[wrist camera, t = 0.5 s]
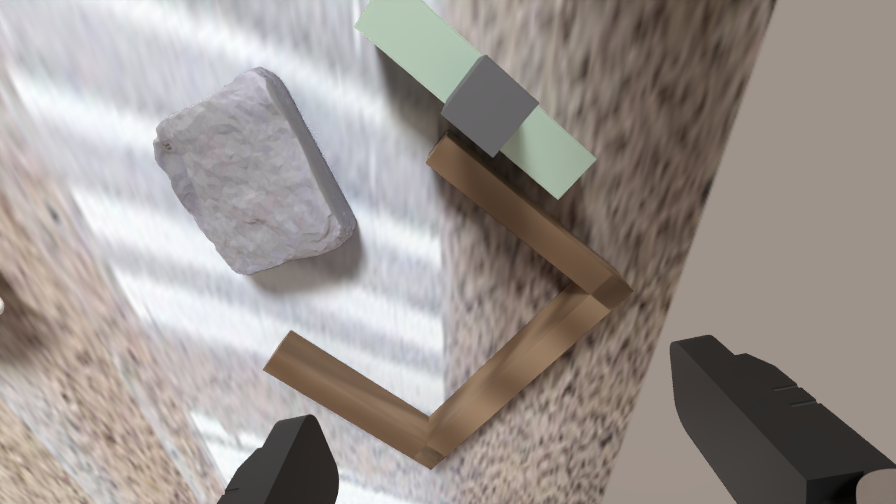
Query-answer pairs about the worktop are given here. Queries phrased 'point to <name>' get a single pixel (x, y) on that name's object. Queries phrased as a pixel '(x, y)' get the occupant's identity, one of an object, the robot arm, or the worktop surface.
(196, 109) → the stone block
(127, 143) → the worktop surface
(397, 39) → the board
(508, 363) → the wooden u-shaped frame
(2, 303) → the teacup
